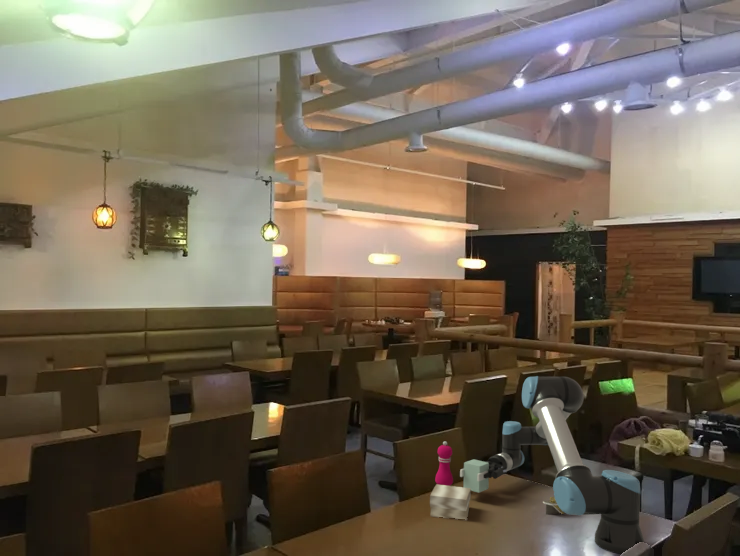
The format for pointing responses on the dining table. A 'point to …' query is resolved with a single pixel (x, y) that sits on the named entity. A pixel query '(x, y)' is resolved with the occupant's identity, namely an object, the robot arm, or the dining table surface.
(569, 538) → the dining table surface
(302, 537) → the dining table surface
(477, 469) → the sage block
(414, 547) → the dining table surface
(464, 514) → the bottom block
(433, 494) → the top block
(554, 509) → the platform
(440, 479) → the pepper mill
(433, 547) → the dining table surface
